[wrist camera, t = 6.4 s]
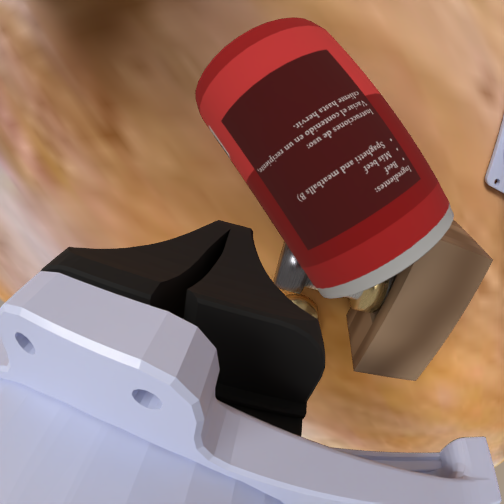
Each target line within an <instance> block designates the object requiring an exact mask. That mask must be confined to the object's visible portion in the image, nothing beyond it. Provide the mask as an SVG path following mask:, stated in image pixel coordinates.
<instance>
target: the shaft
mask: <svg viewBox="0 0 504 504" xmlns="http://www.w3.org/2000/svg"><path fill="white" fill-rule="evenodd" d="M396 277H397V275H395V276H393V277H392V278H390V279H388V280H386V281H384V282H382V283H380V284H378V285H376V286H374V287H372V288H370V289H367V290H364V291H362V292H359V293H356V294H353V295H349V296H345V297H346V298H350V306H351V308H352V309H355V310H359V311H363V312H367V313H374V312H376V311H377V310H378V308H379V307H380V306H382V305H383V303H384V301H385V299H386V297H387V295H388V293H389V291H390V289H391V287H392V285H393V283H394V281H395V279H396ZM274 284H275V285H276V286H277V287H278V288H279V289H282V290H286V291H290V292H294V293H298V294H300V293H301V292H302V290H303V288H304V287H308V288H311V289H315V290H318V289H317V288H316V287H315V286H314V285H313V284H312V282H311V281H310V279H309V278H308V276H307V274H306V273H305V271H304V270H303V269H302V267H301V266H300V264H299V263H298V261H297V260H296V258H295V257H294V255H293V253H292V252H291V250H290V249H289V247H288V246H287V244H286V243H285V241H284V244H283V247H282V250H281V254H280V258H279V261H278V265H277V269H276V273H275V278H274Z"/></svg>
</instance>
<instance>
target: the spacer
mask: <svg viewBox="0 0 504 504" xmlns="http://www.w3.org/2000/svg"><path fill="white" fill-rule="evenodd" d="M286 297H288V298H289V299H290V300H291V301H292V302H293V303H295V304H296V305H297V306H298V307H300V308H301V309H303V310H304V311H306V312H307V313H309V314H310V315H312V316H314V317H315V318H317V319H318V310H317V307H316V305H315V303H314V302H313V301H312V300H311V299H310V298H308V297H306V296H303V295H299V294H291V295H286Z"/></svg>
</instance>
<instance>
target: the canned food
mask: <svg viewBox="0 0 504 504" xmlns="http://www.w3.org/2000/svg"><path fill="white" fill-rule="evenodd" d="M196 102H197V105H198V109H199V112H200V115H201V117H202V119H203V120H204V122H205V123H206V125H207V126H208V127H209V129H210V130H211V132H212V133H213V135H214V136H215V138H216V139H217V141H218V142H219V143H220V145H221V146H222V148H223V149H224V151H225V152H226V154H227V155H228V157H229V158H230V160H231V161H232V162H233V164H234V165H235V167H236V168H237V170H238V171H239V173H240V174H241V176H242V177H243V179H244V180H245V182H246V183H247V185H248V186H249V188H250V189H251V191H252V192H253V194H254V195H255V197H256V198H257V200H258V201H259V203H260V204H261V206H262V207H263V209H264V210H265V212H266V213H267V215H268V216H269V218H270V219H271V221H272V223H273V224H274V226H275V227H276V229H277V230H278V232H279V233H280V235H281V236H282V238H283V239H284V241H285V243H286V244H287V246H288V247H289V249H290V250H291V252H292V253H293V255H294V257H295V258H296V260H297V261H298V263H299V264H300V266H301V267H302V269H303V270H304V271H305V273H306V274H307V276H308V278H309V279H310V281H311V282H312V284H313V285H314V286H315V287H316V288H317V289H318V291H319V292H320V294H321V295H322V296H323V297H325V298H341V297H345V296H349V295H353V294H356V293H359V292H362V291H364V290H367V289H370V288H372V287H374V286H376V285H378V284H380V283H382V282H384V281H386V280H388V279H390V278H392V277H393V276H395V275H397V274H398V273H400V272H402V271H403V270H405V269H406V268H408V267H409V266H410V265H412V264H413V263H415V262H416V261H418V260H419V259H420V258H421V257H422V256H424V255H425V254H426V253H427V252H428V251H430V250H431V249H432V248H433V247H434V246H435V245H436V244H437V243H438V242H439V241H440V239H441V238H442V237H443V236H444V234H445V233H446V232H447V230H448V229H449V228H450V226H451V223H452V221H453V217H454V214H453V212H452V210H451V207H450V203H449V201H448V199H447V197H446V196H445V194H444V192H443V190H442V188H441V186H440V184H439V182H438V180H437V178H436V176H435V175H434V173H433V171H432V170H431V168H430V166H429V165H428V163H427V161H426V160H425V158H424V156H423V155H422V153H421V152H420V150H419V148H418V147H417V145H416V144H415V142H414V141H413V139H412V138H411V136H410V134H409V133H408V131H407V130H406V129H405V127H404V126H403V124H402V123H401V121H400V120H399V118H398V117H397V116H396V114H395V113H394V111H393V110H392V109H391V107H390V106H389V104H388V103H387V102H386V100H385V99H384V98H383V96H382V95H381V94H380V93H379V91H378V90H377V89H376V87H375V86H374V85H373V84H372V82H371V81H370V80H369V79H368V77H367V76H366V75H365V74H364V72H363V71H362V70H361V69H360V68H359V66H358V65H357V64H356V63H355V62H354V61H353V59H352V58H351V57H350V56H349V55H348V54H347V53H346V51H345V50H344V49H343V48H342V47H341V46H340V45H339V44H338V43H337V41H336V40H335V39H334V38H333V37H332V36H331V35H330V34H329V33H328V32H327V31H326V30H325V29H323V28H322V27H320V26H318V25H316V24H315V23H313V22H311V21H309V20H306V19H303V18H284V19H278V20H274V21H271V22H267V23H264V24H262V25H260V26H257V27H255V28H253V29H251V30H249V31H247V32H246V33H244V34H242V35H241V36H239V37H237V38H236V39H235V40H233V41H232V42H231V43H229V44H228V45H227V46H226V47H224V48H223V49H222V50H221V51H220V52H219V53H218V54H217V55H216V56H215V57H214V58H213V59H212V61H211V62H210V63H209V65H208V66H207V67H206V69H205V70H204V72H203V74H202V76H201V78H200V80H199V81H198V85H197V88H196Z"/></svg>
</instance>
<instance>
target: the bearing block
mask: <svg viewBox="0 0 504 504" xmlns="http://www.w3.org/2000/svg"><path fill="white" fill-rule="evenodd" d="M492 261H493V260H492V258H491V257H490V256H489V255H488V254H487V253H486V252H485V251H484V250H483V249H482V248H481V247H480V246H479V245H478V244H477V242H476V241H475V240H474V239H473V238H472V237H471V236H470V235H469V234H468V233H467V232H466V231H465V230H464V229H463V228H462V227H461V226H460V225H459V224H458V223H457V222H455V221H454V220H453V221H452V223H451V226H450V228H449V229H448V230H447V232H446V233H445V234H444V236H443V237H442V238H441V239H440V241H439V242H438V243H437V244H436V245H435V246H434V247H433V248H432V249H431V250H430V251H428V252H427V253H426V254H425V255H424V256H422V257H421V258H420V259H419V260H418V261H416V262H415V263H413V264H412V265H410V266H409V267H408V268H406V269H405V270H403V271H402V272H400V273H398V274H397V277H396V279H395V281H394V283H393V285H392V287H391V289H390V291H389V293H388V295H387V297H386V299H385V301H384V303H383V305H382V306H380V307H379V308H378V310H377V311H376V312H374V313H367V312H363V311H359V310H355V309H352V308H351V307H350V309H349V311H348V313H347V315H346V316H347V322H348V329H349V336H350V344H351V352H352V360H353V368H354V371H356V372H362V373H368V374H374V375H380V376H386V377H392V378H399V379H406V380H413V381H416V380H417V379H418V377H419V376H420V375H421V373H422V372H423V371H424V369H425V368H426V367H427V365H428V364H429V363H430V361H431V360H432V359H433V357H434V356H435V355H436V353H437V352H438V350H439V349H440V348H441V346H442V345H443V343H444V342H445V340H446V339H447V337H448V336H449V334H450V333H451V331H452V330H453V328H454V327H455V325H456V324H457V322H458V321H459V319H460V317H461V316H462V314H463V313H464V311H465V309H466V308H467V306H468V304H469V303H470V301H471V299H472V298H473V296H474V294H475V292H476V291H477V289H478V287H479V285H480V284H481V282H482V280H483V278H484V276H485V274H486V272H487V271H488V269H489V267H490V265H491V263H492Z"/></svg>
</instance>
